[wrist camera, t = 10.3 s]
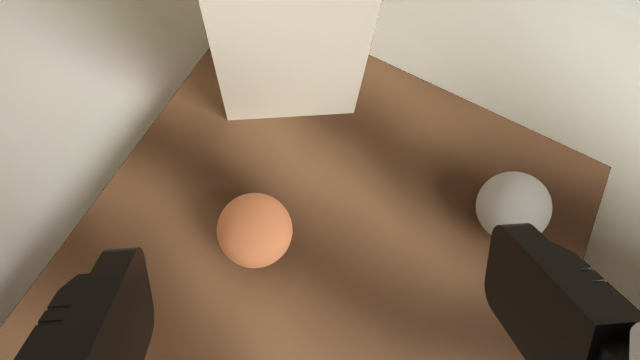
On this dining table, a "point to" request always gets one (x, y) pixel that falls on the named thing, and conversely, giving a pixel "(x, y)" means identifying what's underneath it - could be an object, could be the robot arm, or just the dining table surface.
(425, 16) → the dining table surface
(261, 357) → the board
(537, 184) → the grey ball
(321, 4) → the cream tall block
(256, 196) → the ball
